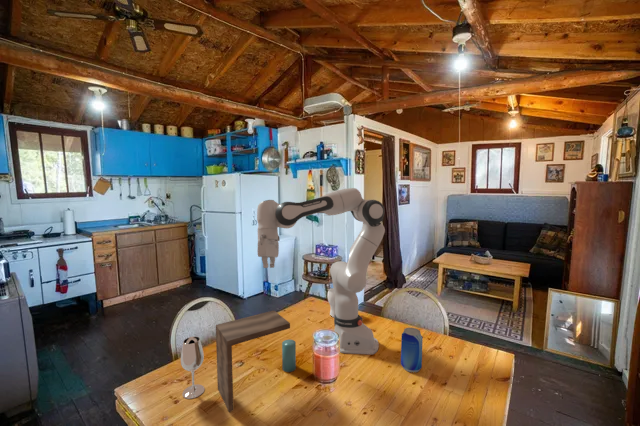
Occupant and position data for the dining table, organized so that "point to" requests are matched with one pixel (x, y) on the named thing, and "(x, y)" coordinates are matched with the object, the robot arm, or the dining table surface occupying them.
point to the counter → (237, 334)
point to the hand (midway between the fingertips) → (269, 267)
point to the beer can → (411, 350)
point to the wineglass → (192, 364)
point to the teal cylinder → (288, 355)
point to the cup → (331, 301)
